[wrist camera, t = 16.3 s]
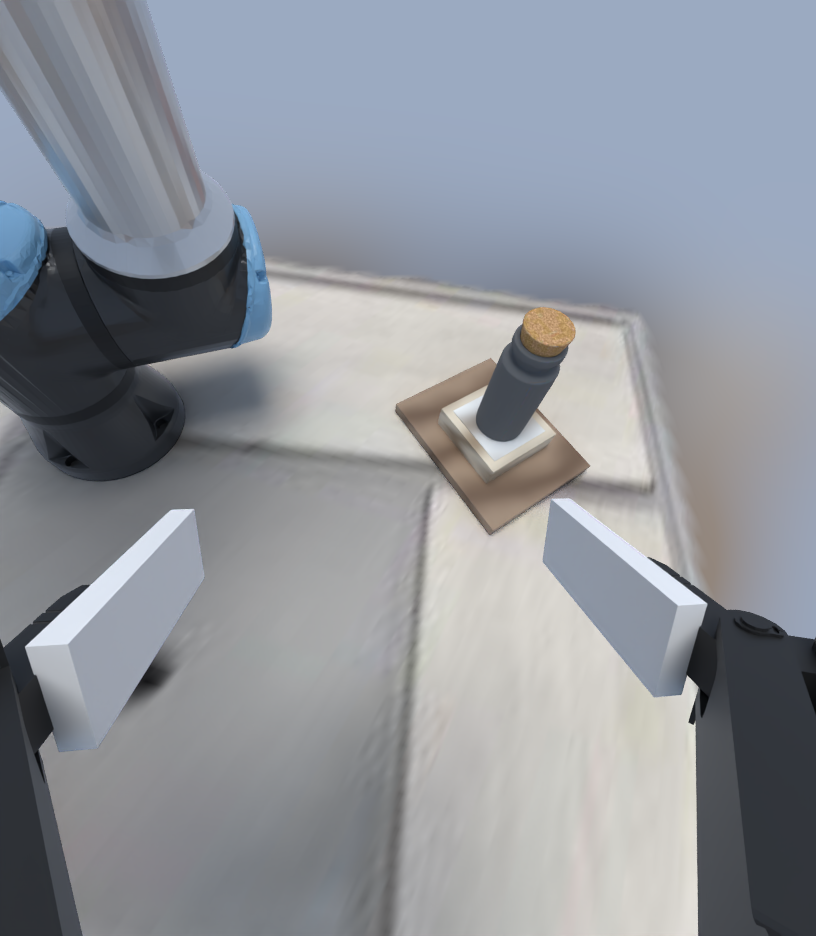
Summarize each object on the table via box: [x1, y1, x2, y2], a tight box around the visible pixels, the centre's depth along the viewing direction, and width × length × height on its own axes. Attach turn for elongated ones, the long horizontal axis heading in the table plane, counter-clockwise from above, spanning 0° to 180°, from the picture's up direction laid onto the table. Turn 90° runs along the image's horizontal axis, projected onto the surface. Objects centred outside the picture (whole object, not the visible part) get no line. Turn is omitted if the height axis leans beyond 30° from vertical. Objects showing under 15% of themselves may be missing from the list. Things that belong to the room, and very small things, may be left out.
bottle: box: [476, 307, 575, 442], centre depth 42 cm, size 6×6×15 cm
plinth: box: [395, 358, 590, 535], centre depth 51 cm, size 20×16×5 cm
